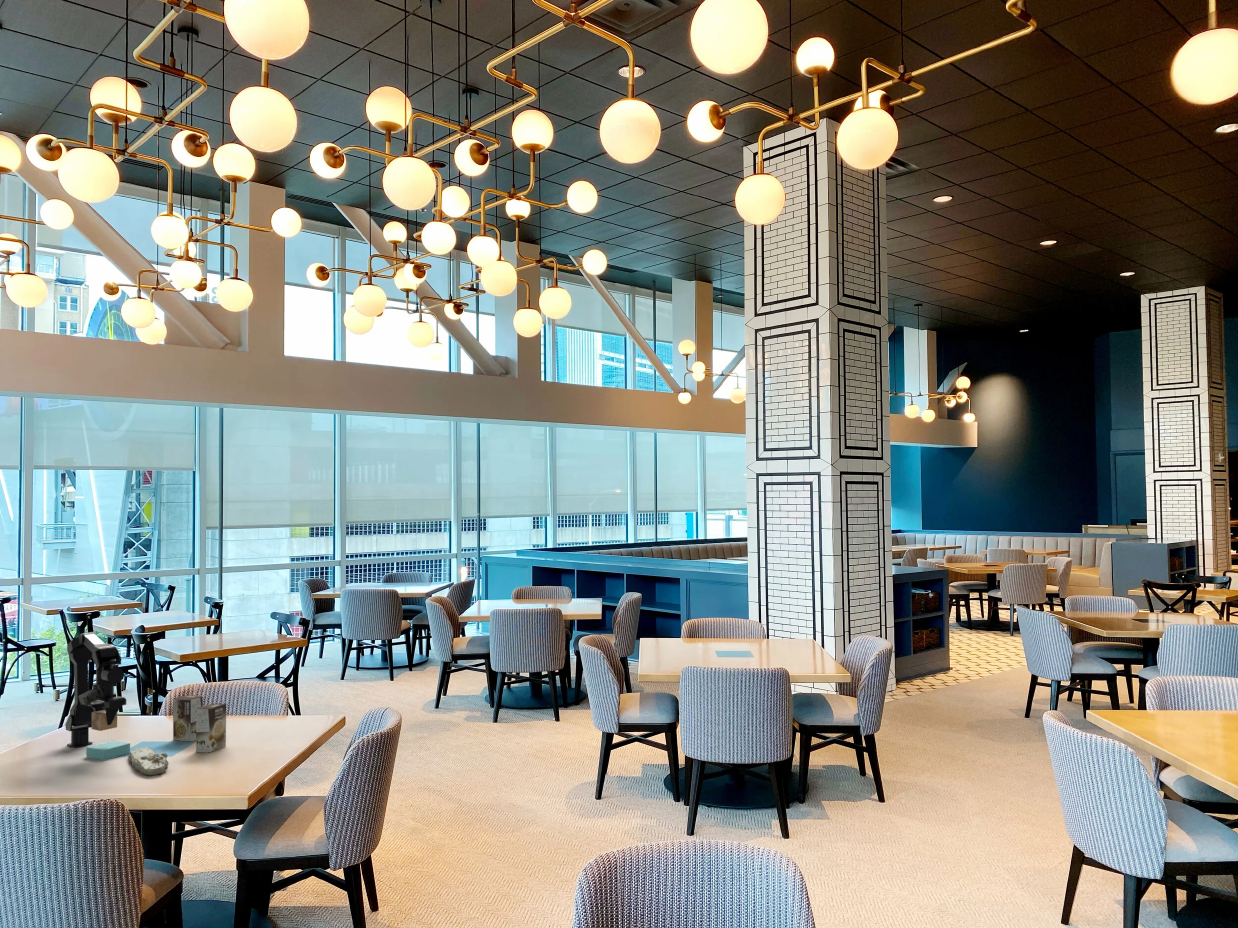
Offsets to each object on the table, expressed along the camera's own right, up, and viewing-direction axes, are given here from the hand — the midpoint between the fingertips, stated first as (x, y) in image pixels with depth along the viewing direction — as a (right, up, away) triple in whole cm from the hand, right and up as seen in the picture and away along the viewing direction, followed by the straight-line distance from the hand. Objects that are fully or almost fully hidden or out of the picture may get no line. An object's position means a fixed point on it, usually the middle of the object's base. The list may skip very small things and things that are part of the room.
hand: (104, 723), depth 325 cm
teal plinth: (+1, -12, 0) cm, 12 cm away
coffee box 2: (+36, -12, +6) cm, 38 cm away
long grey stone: (+23, -11, -13) cm, 29 cm away
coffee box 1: (+20, -13, +22) cm, 32 cm away
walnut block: (0, -2, 0) cm, 2 cm away
